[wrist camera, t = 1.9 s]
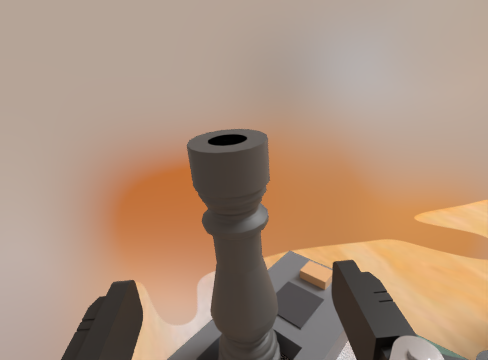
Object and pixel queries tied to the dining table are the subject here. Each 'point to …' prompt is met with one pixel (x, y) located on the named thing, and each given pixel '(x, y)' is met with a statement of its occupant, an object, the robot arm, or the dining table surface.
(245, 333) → the candle holder
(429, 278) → the dining table surface
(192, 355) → the grey compartment tray
